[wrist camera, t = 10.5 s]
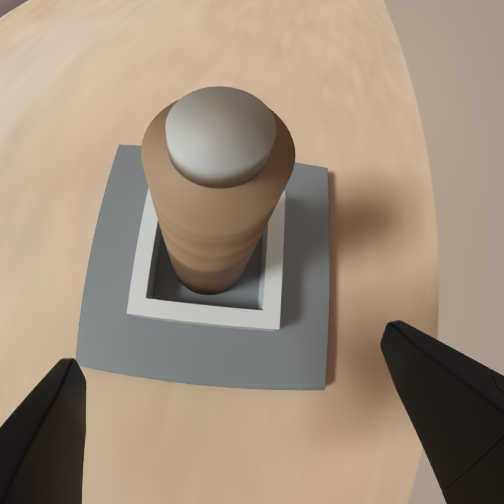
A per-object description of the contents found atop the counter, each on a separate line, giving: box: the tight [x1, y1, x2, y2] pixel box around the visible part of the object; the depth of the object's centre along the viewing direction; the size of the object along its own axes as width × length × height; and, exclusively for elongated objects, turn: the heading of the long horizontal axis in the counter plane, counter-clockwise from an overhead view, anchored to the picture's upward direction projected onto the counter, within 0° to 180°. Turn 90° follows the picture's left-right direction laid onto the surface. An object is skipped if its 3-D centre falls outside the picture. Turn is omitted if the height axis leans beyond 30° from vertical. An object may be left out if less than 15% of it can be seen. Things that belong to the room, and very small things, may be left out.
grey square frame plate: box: [76, 145, 330, 390], centre depth 20 cm, size 16×16×3 cm
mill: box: [141, 87, 295, 295], centre depth 14 cm, size 5×5×13 cm
